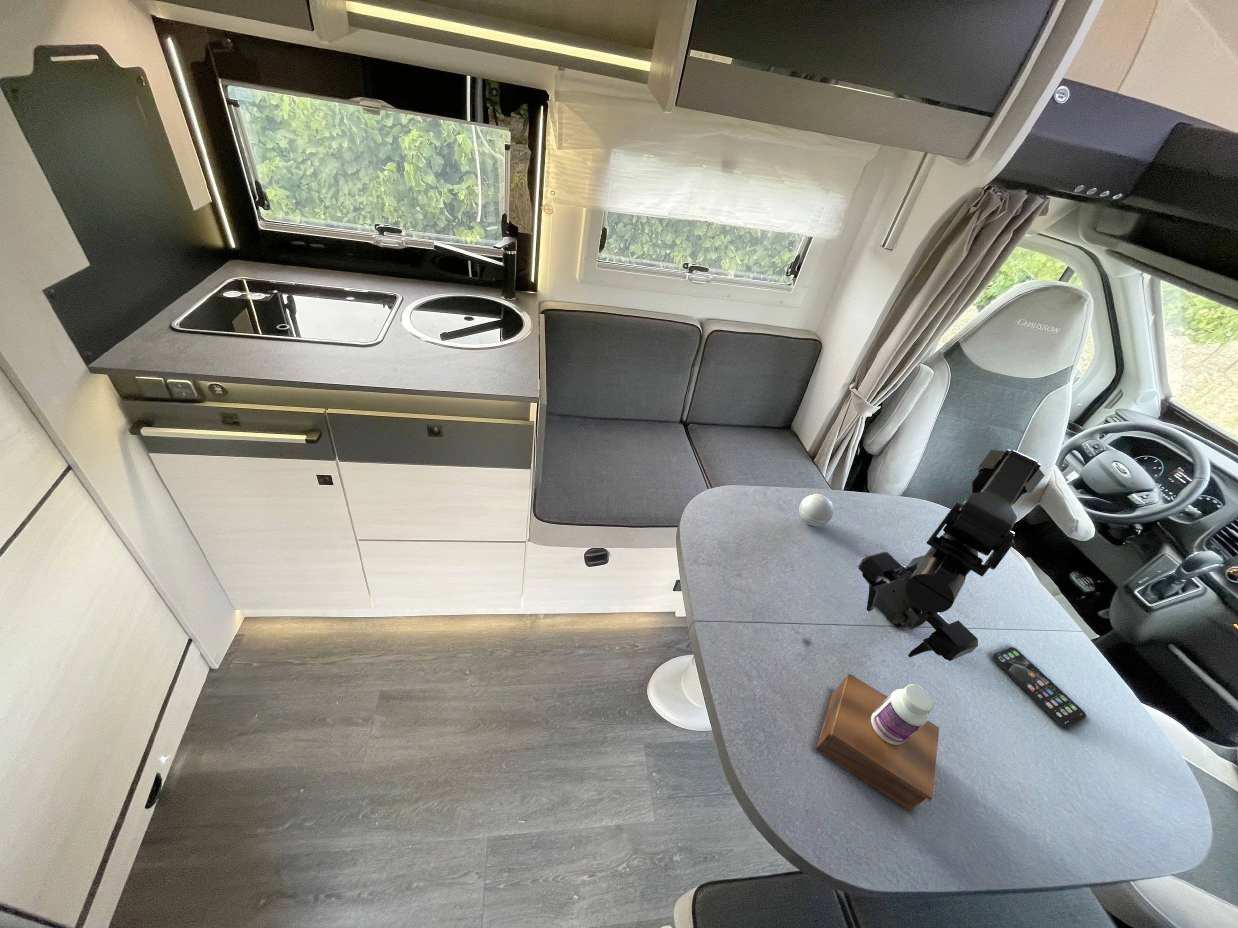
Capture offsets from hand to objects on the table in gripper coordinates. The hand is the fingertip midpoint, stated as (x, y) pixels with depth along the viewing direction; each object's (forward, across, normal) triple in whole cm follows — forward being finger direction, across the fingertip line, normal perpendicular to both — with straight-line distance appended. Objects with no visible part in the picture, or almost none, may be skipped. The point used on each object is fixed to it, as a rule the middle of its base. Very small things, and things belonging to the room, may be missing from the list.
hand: (889, 632), depth 84 cm
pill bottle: (+7, +11, -8) cm, 15 cm away
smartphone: (+13, +14, +35) cm, 40 cm away
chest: (+13, +11, -8) cm, 19 cm away
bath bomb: (+13, -36, +20) cm, 43 cm away
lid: (+7, +11, -8) cm, 16 cm away
